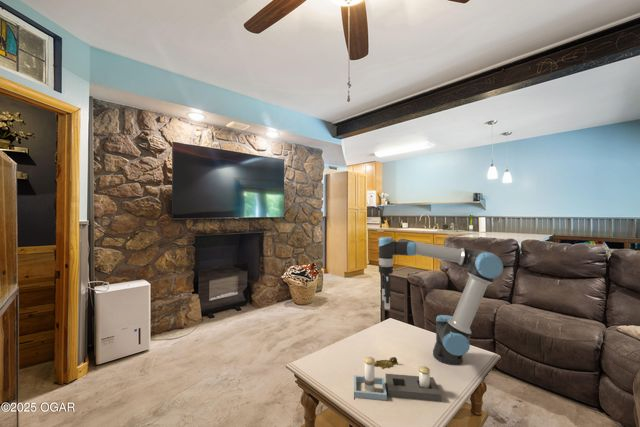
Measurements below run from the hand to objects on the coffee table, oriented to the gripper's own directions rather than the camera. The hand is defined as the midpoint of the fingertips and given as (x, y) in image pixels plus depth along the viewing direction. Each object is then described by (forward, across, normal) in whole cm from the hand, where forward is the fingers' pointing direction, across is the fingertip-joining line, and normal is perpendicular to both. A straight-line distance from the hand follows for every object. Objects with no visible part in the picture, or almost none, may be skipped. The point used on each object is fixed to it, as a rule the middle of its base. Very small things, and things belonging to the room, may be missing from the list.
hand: (385, 304), depth 144 cm
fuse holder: (+32, +23, +9) cm, 40 cm away
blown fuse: (+31, +26, -10) cm, 41 cm away
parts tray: (+32, +26, -10) cm, 42 cm away
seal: (+32, +3, -1) cm, 32 cm away
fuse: (+31, +23, +14) cm, 41 cm away
